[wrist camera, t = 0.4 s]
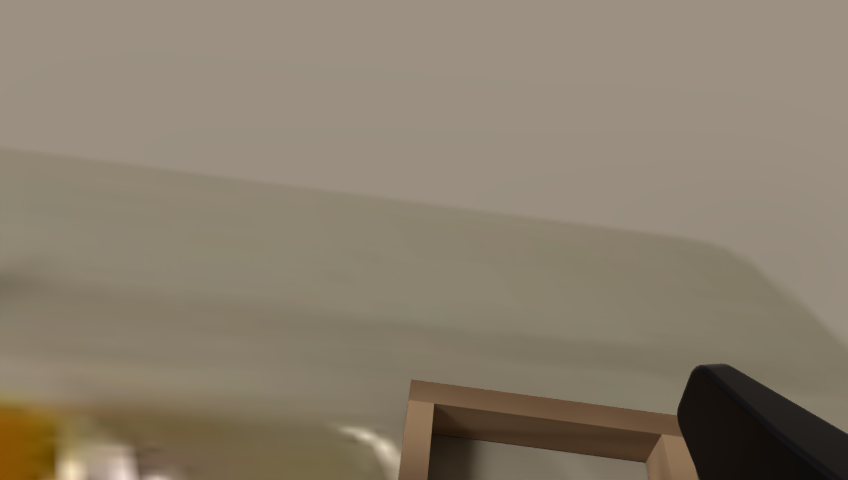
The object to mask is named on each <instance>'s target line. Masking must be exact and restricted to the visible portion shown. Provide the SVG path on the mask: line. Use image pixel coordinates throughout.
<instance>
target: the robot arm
mask: <svg viewBox="0 0 848 480" xmlns="http://www.w3.org/2000/svg"><path fill="white" fill-rule="evenodd" d="M677 420H678V425H679V428H680V431H681V433H682V436H683V438H684V441H685V443H686V446H687V448H688V451H689V453H690V456H691V458H692V461H693V463H694V466H695V468H696V471H697V473H698V476H699V478H700V480H848V434H847V433H845V432H843V431H842V430H840V429H838V428H836V427H835V426H833V425H831V424H830V423H828V422H826V421H824V420H823V419H821V418H819V417H818V416H816V415H814V414H812V413H811V412H809V411H807V410H805V409H804V408H802V407H800V406H799V405H797V404H795V403H793V402H792V401H790V400H788V399H787V398H785V397H783V396H781V395H780V394H778V393H776V392H775V391H773V390H771V389H769V388H768V387H766V386H764V385H762V384H761V383H759V382H757V381H756V380H754V379H752V378H750V377H749V376H747V375H745V374H744V373H742V372H740V371H738V370H737V369H735V368H733V367H731V366H729V365H727V364H708V365H699V366H697V367H696V368H695V369H694V370H693V371H692V372H691V375H690V377H689V380H688V382H687V385H686V388H685V390H684V393H683V396H682V398H681V401H680V403H679V406H678V411H677Z"/></svg>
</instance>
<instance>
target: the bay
mask: <svg viewBox="0 0 848 480" xmlns="http://www.w3.org/2000/svg"><path fill="white" fill-rule="evenodd" d="M431 433H434V434H441V435H449V436H456V437H463V438H471V439H478V440H486V441H493V442H500V443H508V444H515V445H522V446H530V447H537V448H544V449H552V450H559V451H567V452H574V453H581V454H589V455H596V456H603V457H611V458H618V459H625V460H633V461H640V462H646V466H647V471H648V476H649V480H698V476H697V473H696V469H695V466H694V463H693V461H692V458H691V456H690V453H689V451H688V448H687V446H686V443H685V441H684V438H683V436H682V433H681V431H680V428H679V425H678V420H677V416H676V415H669V414H661V413H654V412H646V411H639V410H632V409H624V408H617V407H610V406H602V405H595V404H588V403H580V402H573V401H565V400H558V399H551V398H543V397H536V396H529V395H521V394H514V393H506V392H499V391H492V390H484V389H477V388H470V387H462V386H455V385H448V384H440V383H433V382H425V381H418V380H411V386H410V393H409V400H408V407H407V414H406V422H405V430H404V437H403V445H402V453H401V461H400V469H399V477H398V480H427V477H428V466H429V455H430V444H431Z"/></svg>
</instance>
